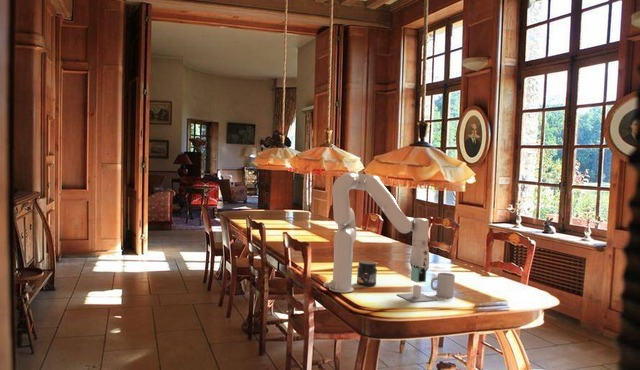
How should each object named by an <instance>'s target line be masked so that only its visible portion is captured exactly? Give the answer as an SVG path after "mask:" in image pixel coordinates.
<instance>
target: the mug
mask: <svg viewBox="0 0 640 370" xmlns="http://www.w3.org/2000/svg"><path fill="white" fill-rule="evenodd" d="M455 278H456V275H455V274H454V273H450V272H439V273H437V276H434V277H432V278H431V281H430V289H431V290H432V291H436V294H435V295H436V296H437V297H439V298H445V299H450V298H454V297H455V296H454V293H455V281H456V280H455ZM434 281H437V282H436V284H437V285H436V287H435V286H434Z"/></svg>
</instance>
